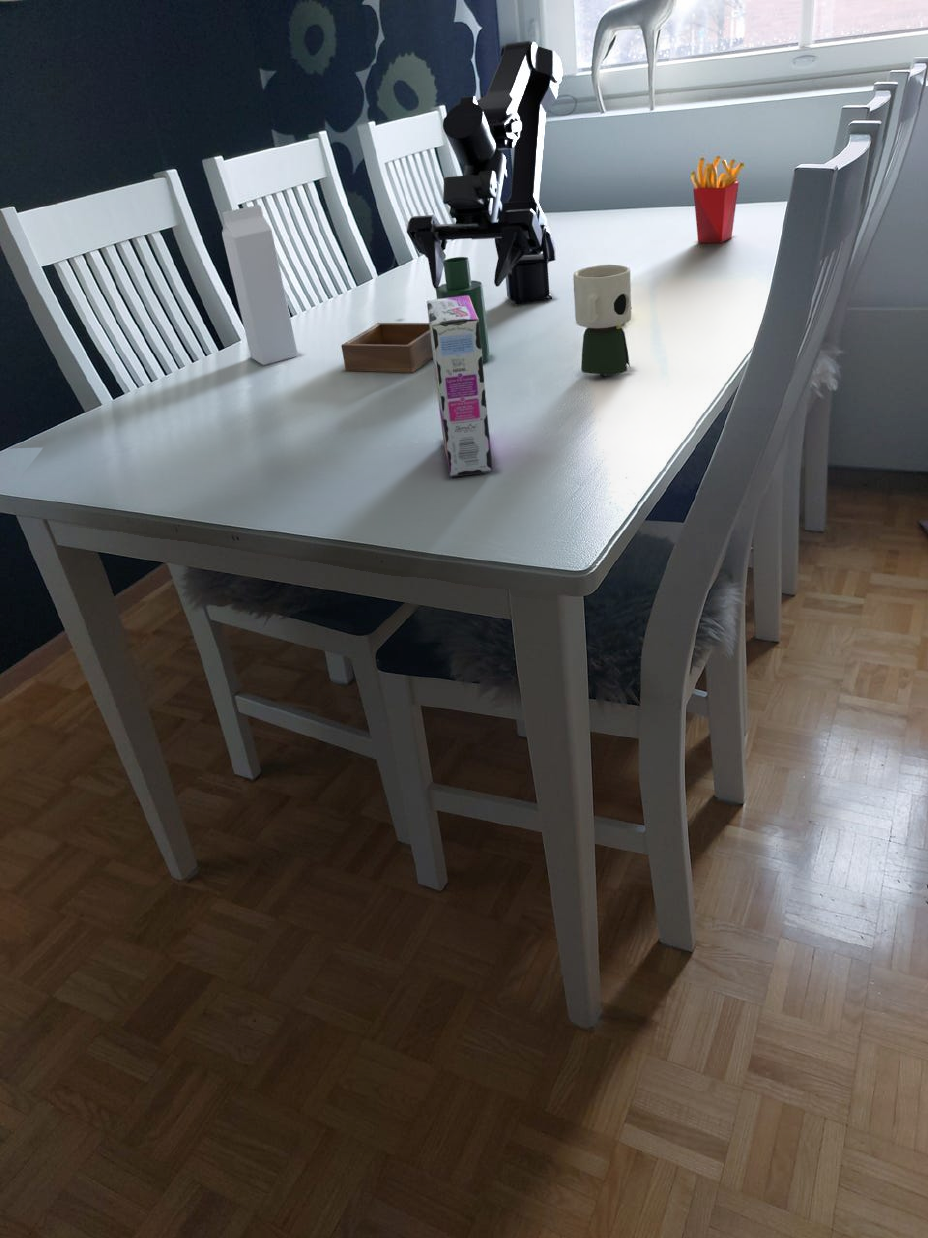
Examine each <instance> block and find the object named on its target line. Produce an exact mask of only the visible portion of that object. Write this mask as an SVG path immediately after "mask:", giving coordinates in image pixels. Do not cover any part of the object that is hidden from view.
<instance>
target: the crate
mask: <svg viewBox="0 0 928 1238" xmlns="http://www.w3.org/2000/svg"><path fill="white" fill-rule="evenodd" d="M340 347H341V351H342V357H343V362H344V369H345V371H349V372H379V373H380V372H381V373H409V374H410V373H414V372H416V371H417V370H418V369H420V368H421V367H422V366H424V365H425V364H426V363H428V362H429V361H431V360H432V359H433V352H432V344H431V335H430V326H429V322H377V323H376V324H374V325H372V326H370V327H368V329H366V330H364V331H363V332H361V333H359V334H357V335H356V336H354V337H353V338H351V339H349V340H347V341H346V342H344V343H343V344H341V345H340Z"/></svg>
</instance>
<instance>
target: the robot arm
mask: <svg viewBox="0 0 928 1238" xmlns="http://www.w3.org/2000/svg"><path fill="white" fill-rule="evenodd" d="M562 77H563V67H562V62H561V59H560V57H559V56H558V55H557V53H556V52H555V51H554V50H552V49H549V48H545V47H542V46H539V45H537V43H536V42H535V41H530V40H523V41H516V42H509V43H506V44H505V45H502V46H501V50H500V61H499V63H498V66H497V67H496V71H495V73H494V75H493V78H492V80H491V83H490V86H489V88H488V91H487V93H486V94H485V96H483V97H481V98H479V99H478V100H477V99H476V96H475V95H471V96H463V97H460V100H459V101H460V102H459V104H457V105H456V106H454V107H452V108H451V109H450V110H449V111H448V113H447V114H446V115H445V117H444V118H443V120H442V129H443V132H444V134H445V136H446V139H447V140H448V142H449V144H450V147H451V149H452V151H453V153H454V155H455V157H456V159H457V161H458V163H459V164H462V165H464V166H465V167H464V172H463V175H455V176H453V175H452V176H445V177H444V178H443V191H442V192H443V193H442V194H443V195H442V196H443V197H442V203H443V205H447V206H449V207H450V208H449V213H448V214H449V215H450V218H451V219H455V223H442V224H441V221H439V218H438V217H437V215H436V214H428V215H415V216H414V215H413V216H412V217H410V219H408V221H407V227H406V235H408V237H409V239H410V241H411V242H412V244H413V245H414V247H415V249H416V250H417V252H418V253H419V254H421V255H424V256H425V258H426V259H427V262H428V266H429V273H430V278H431V283H432V286H433V288H434V289H435V290H436V288H437V287H439V286H440V283H441V280H442V276H443V271H444V263H443V261H445V260H446V257H447V255H446V253H445V250H446V248H447V241H449V240H467V239H468V240H469V239H471V240H488V239H494V245H495V249H496V254H497V261H496V267H495V271H494V279H493V283H494V285H495V287H497V288H498V287H500V286H501V284H502V283H503V282H504V280H505V287H506V296H507V298H508V300H510V301H511V302H512V303H513V304H514V305H515V306H520V305H527V304H533V303H540V302H545V301H551V300H553V295H552V294H551V293H550V279H549V266H548V265H549V263H550V262H554V261H556V260H557V259H556V258H557V257H556V244H555V240H554V239H553V236H552V233H551V231H550V228H549V226H548V219H547V218H546V215H545V214H544V212H543V210H542V207H541V206H540V192H541V191H540V189H541V177H542V165H543V153H544V152H543V151H544V142H545V141H544V139H545V126H546V115H547V113H548V112H549V110H550V109H551V107H552V106H553V104H554V103H555V102H556V100H557V97H558V92H559V90H558V89H559V85H560V84H561V82H562ZM512 149H513V161H512V176H511V189H510V196H509V198H508V200H507V201H506V202H502V201H501V197H502V189H503V183H504V179H507V178H508V173H507V169H506V166H507V165H506V164H507V159H506V156H505V155H504V153H503V151H504V150H512ZM501 150H503V151H501Z"/></svg>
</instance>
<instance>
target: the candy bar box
mask: <svg viewBox="0 0 928 1238" xmlns="http://www.w3.org/2000/svg"><path fill="white" fill-rule="evenodd" d="M426 307H427V316H428V317H427V318H428V323H429V326H430V335H431V344H432V352H433V358H432V359H433V360H432V361H433V367H434V377H435V382H436V383H435V384H436V393H437V394H436V395H437V401H438V409H439V416H440V424H441V431H442V432H441V433H442V440H443V446H444V450H445V457H446V461H447V467H448V475H449V477H452V478H453V477H463V476H470V475H477V474H485V473H486V474H487V473H491V472H493V470H494V469H493V462H492V450H491V449H492V448H491V440H490V428H489V417H488V404H487V393H486V384H485V372H484V364H483V360H482V350H481V339H480V329H479V319H478V317H477V315H476V313H475V310H474V308H473V305H472V302H471V300H470V297H469V296H457V297H448V298H441V299H437V298H436V299H429V300H426Z"/></svg>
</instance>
